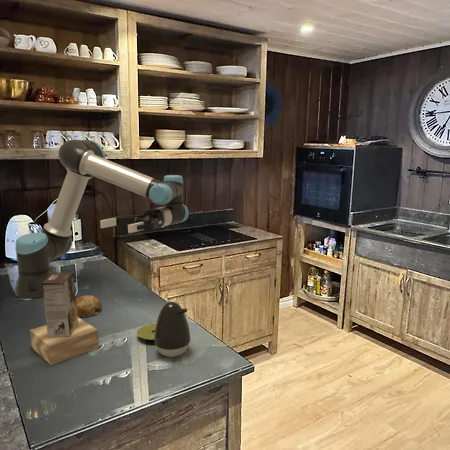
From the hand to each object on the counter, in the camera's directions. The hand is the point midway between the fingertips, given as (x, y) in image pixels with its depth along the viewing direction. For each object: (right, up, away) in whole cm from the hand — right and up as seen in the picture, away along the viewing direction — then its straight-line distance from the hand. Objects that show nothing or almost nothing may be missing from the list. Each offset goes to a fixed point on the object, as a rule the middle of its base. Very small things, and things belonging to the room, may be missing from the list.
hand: (114, 226), depth 139 cm
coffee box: (-9, -30, -20) cm, 37 cm away
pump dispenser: (+23, -36, -22) cm, 48 cm away
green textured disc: (+16, -34, -12) cm, 40 cm away
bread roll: (-12, -31, +7) cm, 34 cm away
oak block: (-9, -36, -19) cm, 41 cm away
